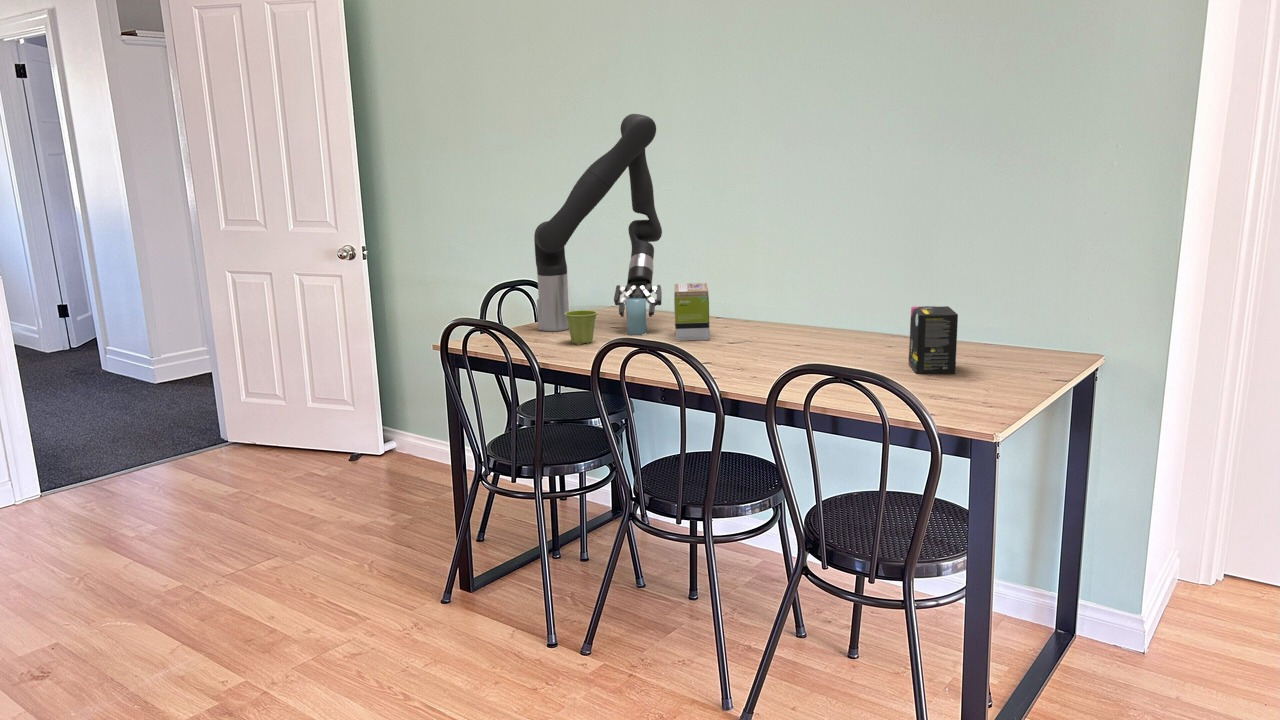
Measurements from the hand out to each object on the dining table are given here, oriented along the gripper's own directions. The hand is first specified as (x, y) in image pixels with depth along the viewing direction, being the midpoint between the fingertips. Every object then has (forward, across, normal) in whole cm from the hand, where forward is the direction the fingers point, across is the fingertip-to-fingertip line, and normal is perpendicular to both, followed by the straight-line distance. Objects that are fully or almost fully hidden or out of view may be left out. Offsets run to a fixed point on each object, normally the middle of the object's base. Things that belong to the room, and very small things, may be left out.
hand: (636, 315), depth 274 cm
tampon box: (+34, +79, -26) cm, 90 cm away
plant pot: (+13, -14, -4) cm, 20 cm away
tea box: (+6, +17, +3) cm, 18 cm away
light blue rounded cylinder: (+4, 0, +4) cm, 6 cm away
